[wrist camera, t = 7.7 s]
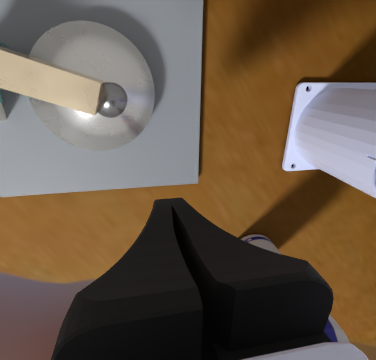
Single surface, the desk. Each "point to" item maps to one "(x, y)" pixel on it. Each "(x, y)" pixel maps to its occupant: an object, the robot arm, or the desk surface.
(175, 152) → the stand board
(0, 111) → the white rectangular box
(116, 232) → the desk surface
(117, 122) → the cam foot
